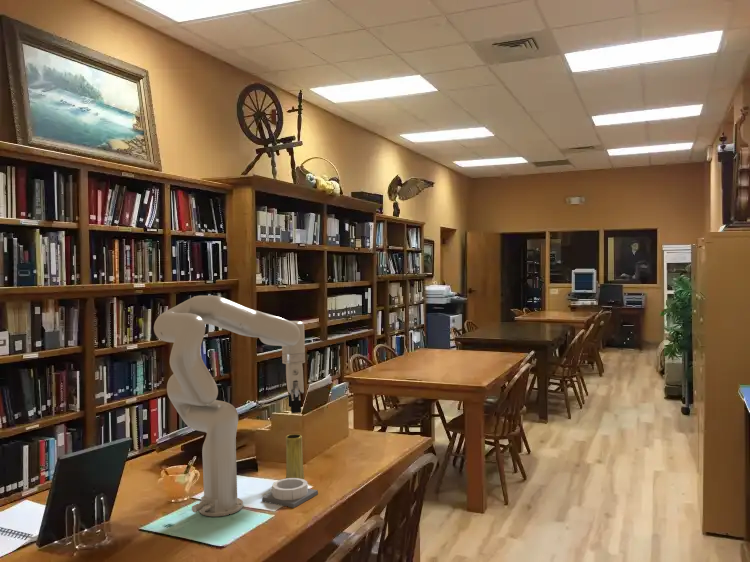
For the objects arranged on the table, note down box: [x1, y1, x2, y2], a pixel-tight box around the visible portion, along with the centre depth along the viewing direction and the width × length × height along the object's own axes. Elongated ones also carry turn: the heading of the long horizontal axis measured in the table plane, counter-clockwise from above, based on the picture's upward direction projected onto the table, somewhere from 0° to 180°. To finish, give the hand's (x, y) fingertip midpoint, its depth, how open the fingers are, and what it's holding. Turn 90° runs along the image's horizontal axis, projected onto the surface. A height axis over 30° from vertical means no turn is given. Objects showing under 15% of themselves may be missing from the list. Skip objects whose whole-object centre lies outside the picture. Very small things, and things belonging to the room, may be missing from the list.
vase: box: [285, 433, 305, 480], centre depth 206 cm, size 6×6×14 cm
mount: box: [261, 477, 319, 509], centre depth 190 cm, size 12×12×4 cm
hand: (294, 409), depth 207 cm, fingers open, 9 cm apart
